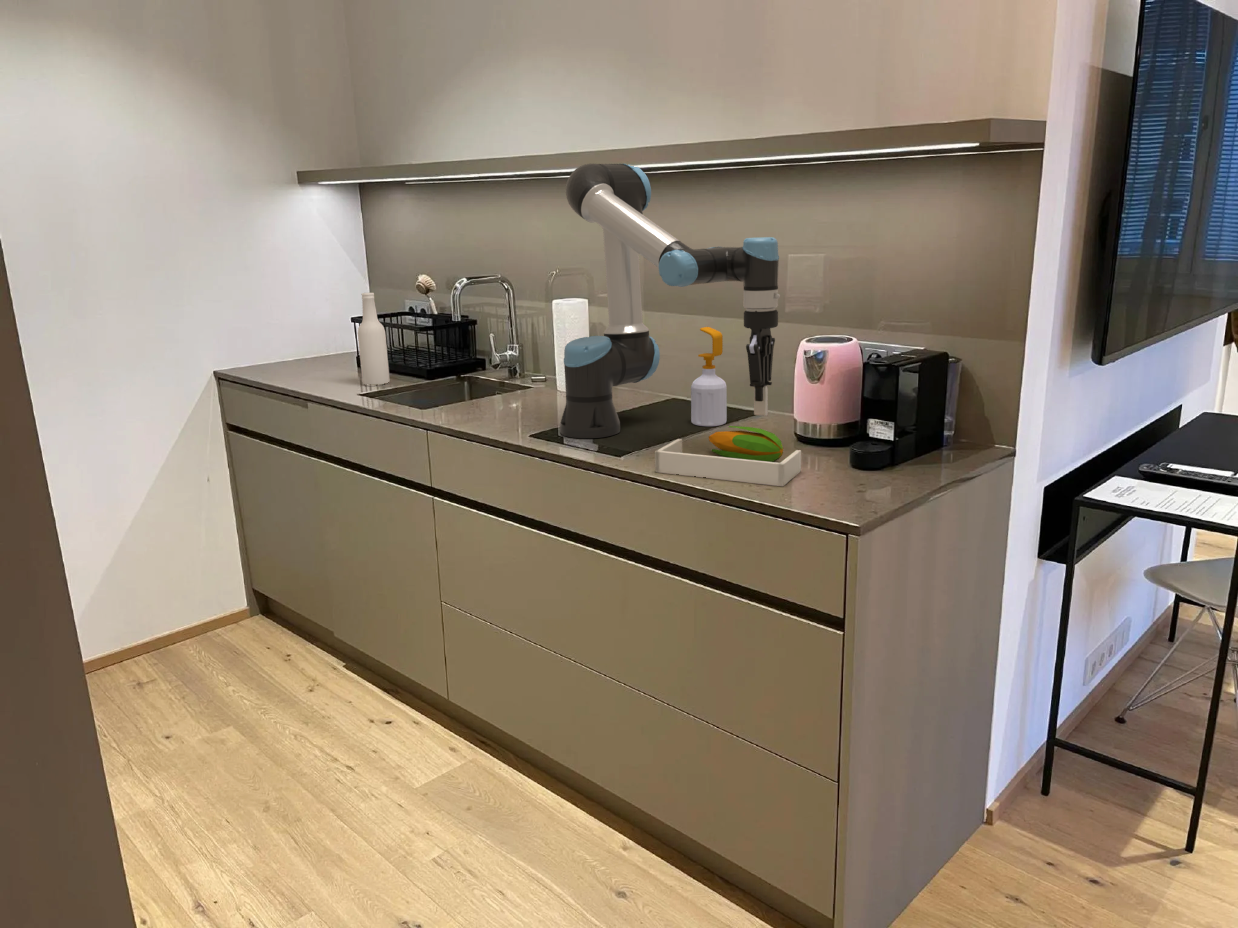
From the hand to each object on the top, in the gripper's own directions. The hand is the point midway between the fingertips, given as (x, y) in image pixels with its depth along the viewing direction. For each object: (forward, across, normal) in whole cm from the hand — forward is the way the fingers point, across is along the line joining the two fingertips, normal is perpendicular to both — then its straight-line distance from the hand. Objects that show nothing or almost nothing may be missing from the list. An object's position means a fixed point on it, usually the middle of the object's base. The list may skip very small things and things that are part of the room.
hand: (760, 414), depth 211 cm
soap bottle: (+8, +22, +22) cm, 32 cm away
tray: (+8, -20, 0) cm, 22 cm away
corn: (+9, -9, +1) cm, 13 cm away
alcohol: (+6, +37, +146) cm, 151 cm away
